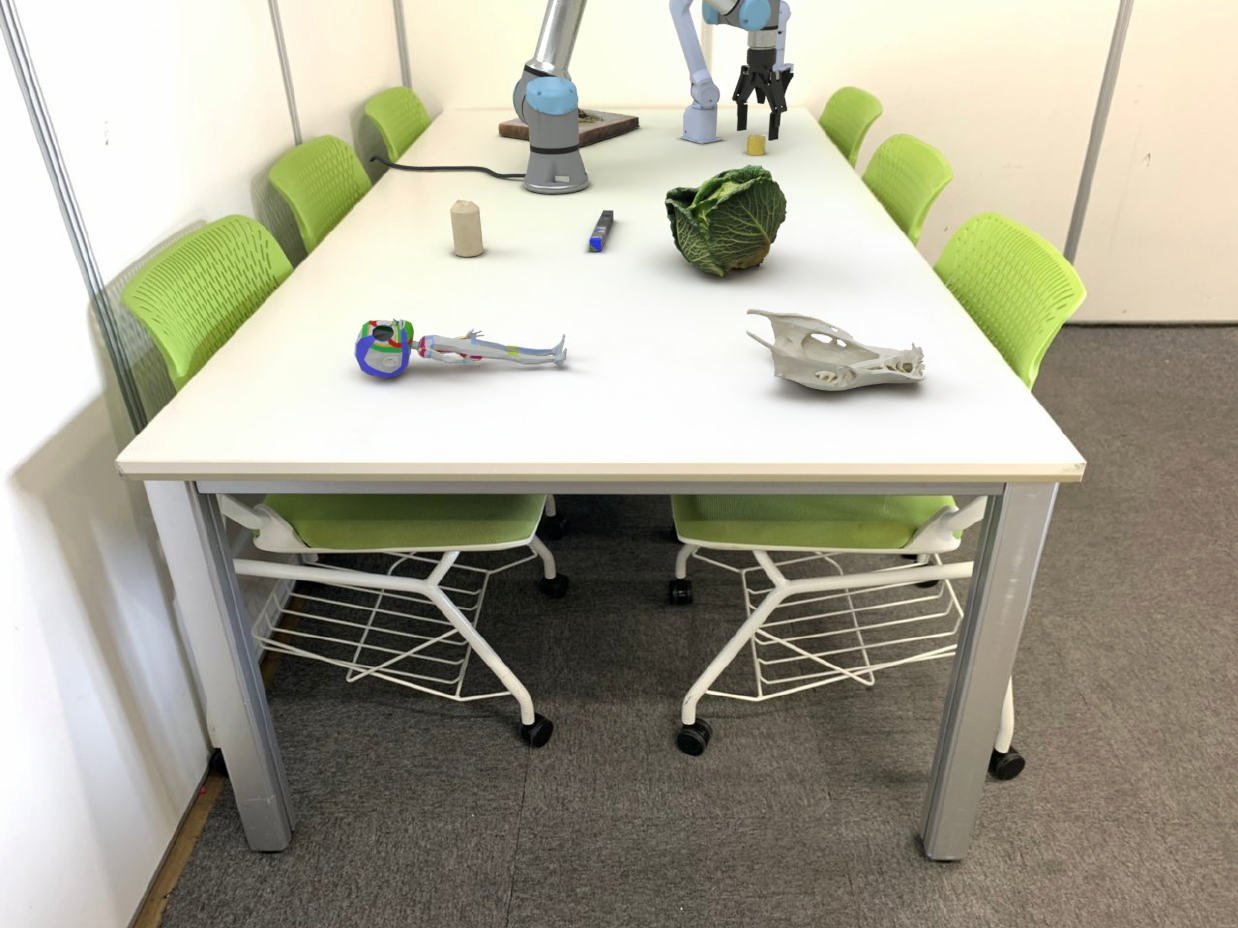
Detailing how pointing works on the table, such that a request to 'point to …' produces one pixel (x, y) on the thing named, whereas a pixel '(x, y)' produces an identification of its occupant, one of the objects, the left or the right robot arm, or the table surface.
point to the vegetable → (727, 219)
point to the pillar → (601, 230)
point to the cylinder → (755, 145)
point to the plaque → (581, 126)
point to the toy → (435, 349)
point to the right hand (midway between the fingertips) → (770, 101)
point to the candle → (466, 228)
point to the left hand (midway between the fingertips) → (757, 135)
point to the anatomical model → (834, 356)
